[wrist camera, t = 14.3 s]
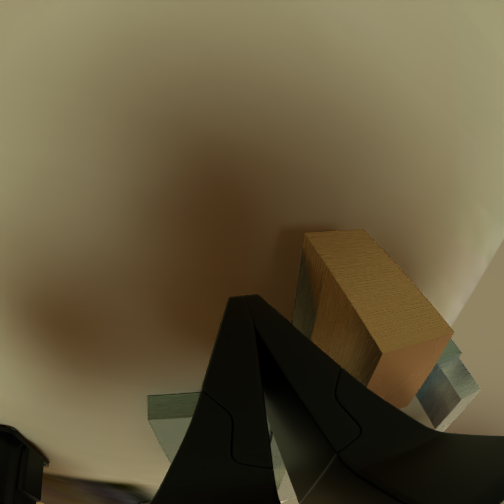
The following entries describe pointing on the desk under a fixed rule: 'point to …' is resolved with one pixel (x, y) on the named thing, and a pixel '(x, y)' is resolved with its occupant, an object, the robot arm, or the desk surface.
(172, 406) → the frosted green glass slab
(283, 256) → the desk surface
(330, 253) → the light brown wooden block
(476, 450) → the robot arm
